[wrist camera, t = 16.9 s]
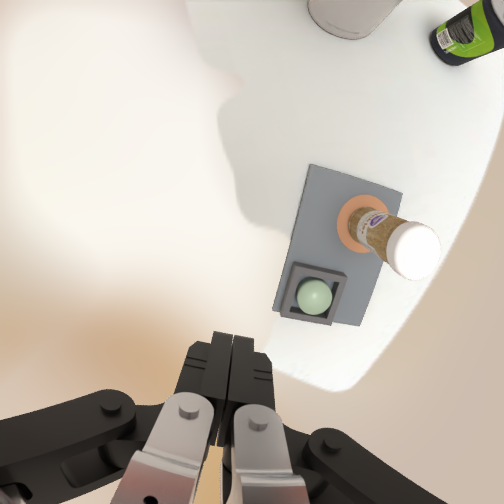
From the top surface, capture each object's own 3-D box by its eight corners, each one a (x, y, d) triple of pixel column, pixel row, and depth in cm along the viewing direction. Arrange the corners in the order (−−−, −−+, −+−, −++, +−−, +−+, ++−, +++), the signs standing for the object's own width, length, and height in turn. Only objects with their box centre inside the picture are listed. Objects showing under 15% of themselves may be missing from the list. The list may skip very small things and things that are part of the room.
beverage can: (457, 75, 29) (527, 51, 14) (424, 49, 28) (489, 11, 14) (464, 47, 27) (527, 20, 13) (432, 22, 27) (491, -17, 12)
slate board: (310, 164, 33) (314, 163, 30) (399, 192, 34) (409, 194, 31) (272, 308, 37) (273, 317, 35) (357, 323, 38) (363, 333, 36)
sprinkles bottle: (362, 198, 33) (419, 212, 20) (388, 222, 34) (451, 248, 20) (338, 228, 34) (384, 260, 21) (366, 251, 34) (418, 292, 21)
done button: (300, 273, 35) (303, 279, 33) (331, 279, 35) (336, 286, 33) (291, 303, 36) (293, 311, 34) (322, 309, 36) (325, 317, 34)
